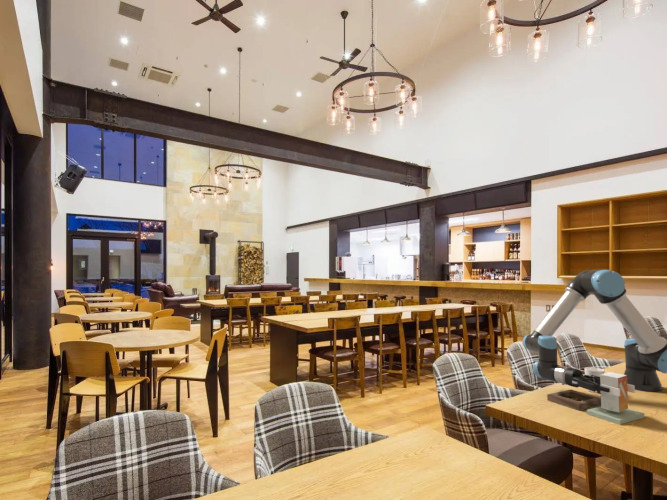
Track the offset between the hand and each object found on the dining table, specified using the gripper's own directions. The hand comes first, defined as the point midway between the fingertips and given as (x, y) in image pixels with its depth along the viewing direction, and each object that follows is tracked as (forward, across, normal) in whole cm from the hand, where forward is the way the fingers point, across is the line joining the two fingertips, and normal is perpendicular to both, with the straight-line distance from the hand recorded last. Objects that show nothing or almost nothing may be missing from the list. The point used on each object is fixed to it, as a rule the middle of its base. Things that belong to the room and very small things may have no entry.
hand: (626, 390), depth 149 cm
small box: (-5, 0, -8) cm, 9 cm away
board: (-5, 0, -11) cm, 12 cm away
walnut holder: (-21, -1, -11) cm, 24 cm away
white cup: (-27, -25, -11) cm, 38 cm away
